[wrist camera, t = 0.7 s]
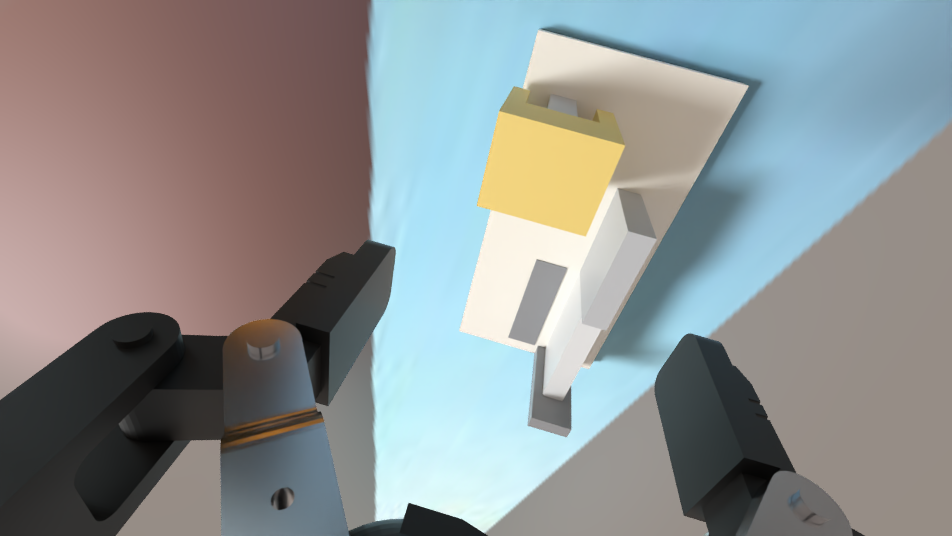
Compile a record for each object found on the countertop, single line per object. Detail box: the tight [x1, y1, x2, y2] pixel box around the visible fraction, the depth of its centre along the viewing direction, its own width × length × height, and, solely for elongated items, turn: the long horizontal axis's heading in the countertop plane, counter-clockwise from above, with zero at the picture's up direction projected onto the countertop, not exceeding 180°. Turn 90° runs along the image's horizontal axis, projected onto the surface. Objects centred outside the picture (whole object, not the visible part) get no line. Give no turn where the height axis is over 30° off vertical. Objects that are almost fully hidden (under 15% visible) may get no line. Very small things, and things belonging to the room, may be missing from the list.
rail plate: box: [459, 29, 749, 437], centre depth 27 cm, size 24×12×8 cm, turn 167°
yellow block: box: [477, 86, 625, 237], centre depth 23 cm, size 5×6×6 cm
